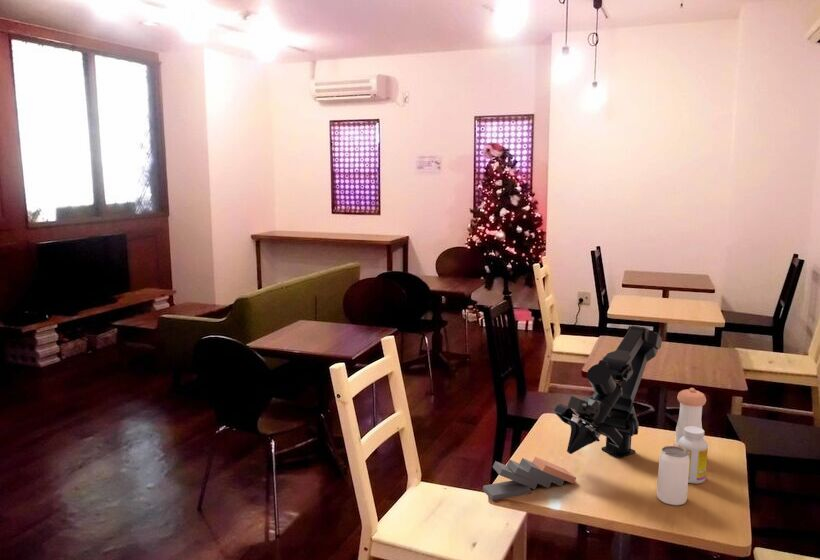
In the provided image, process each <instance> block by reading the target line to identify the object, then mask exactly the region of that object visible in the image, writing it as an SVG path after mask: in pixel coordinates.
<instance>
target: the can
mask: <svg viewBox="0 0 820 560" xmlns="http://www.w3.org/2000/svg"><path fill="white" fill-rule="evenodd" d="M658 460H659V461H658V474H657V488H656V489H657V490H656V497H657V499H658V500H659V501H660V502H662V503H663V504H666V505H669V506H674V507H675V506H677V507H678V506H682V505H684V504H686V502H687V499H688V490H689V489H688V486H689V483H688V476H689V462H690V460H689V457H688V452H687V451H686V450H685V449H683V448H680V447H675V446H673V445H666V446H664V447H662V448H661V452H660V453H659V459H658Z"/></svg>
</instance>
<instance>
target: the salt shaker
mask: <svg viewBox="0 0 820 560" xmlns="http://www.w3.org/2000/svg"><path fill="white" fill-rule="evenodd" d="M677 401H678V402H679V413H678V420H677V423H676V427H675V434H674V435H675V436H674V441H673V444H672V446H675V447H678V444H679V439H680V438H681V437H683V436H684V433H683V432H684V428H685V427H687V426H694V427H699V428H701V429H703V425H702V414H703V406H705V404H706V402H707V398H706V395H705V394H704V393H703V392H701V391H699V390H696V389H695V388H694V387H690V388H688V389H682V390H680V391H679V392H678V394H677Z"/></svg>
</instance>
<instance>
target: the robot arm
mask: <svg viewBox="0 0 820 560" xmlns="http://www.w3.org/2000/svg"><path fill="white" fill-rule="evenodd" d="M626 331H627V332H626V334H625V336H624V337H623V338H622V340H621V341H620V344H619V345H618V346H617V347H616V349H615V350H613V351H610V352H608V353H606V354H605V356H604V357H603V358H602V359H600V360H599V361H598V363H596V364H594V365H592V366H591V367H590V368H589V369H588V370H587V373H586V378H587V379H588V381H589V383H590V385H591V387H592V390H593V393H592V395H591V396H589V395H587V396H586V397H585V398H584V399H582V398H580V397H578V396H575V395H570V397H569V401H568V402H567V406H566V405H564V404H562V403H560V404H557V405H556V406H555V407H554V409H553V411H552V412H553V413H554V414H555V415H556V417H558V418H559V419H560V420H561V421H562V422H563V423H564V424H566V425H569V426H570V435H569V441H568V444H567V449H566V452H567V453H568V454H570V455H573V454H574V453H575V452H577V451H579V450H581V449H583V448H585V447H586V446H589V445H590V444H592V443H595V442H598V443H599V442H600V441H601V440H600V437H601V436H604V437H605V446H602V447H601V450H602V451H604V452H606V453H608V454H610V455H612V456H615V457H617V458H620V459H621V458H624V457H627V456H630V455H633V454H635V453H636V450H635V449H633V448H632V437H633V436H636V435H638V434H639V428H640V427H639V425H640V423H639V421H638V418H637V415H636V411H635V407H634V400H635V398H636V394H637V391H638V390H639V389H638V388H639V386H640V383H641V380H642V378H643V375H644V372H645V369H646V366H647V364H648V362H649V361H651V360H652V359H654V358H655V357H656V356H657V354H658V351H659V350H660V349H661V347H662V343H663V342H662V341H663V339H662V336H660V334H659V333H658V332H655V331H652V330H650V329H649V328H647V327H645V326H639V325H629V326H628V327H627V330H626ZM618 382H620V384H619V383H618ZM573 410H574V411H573Z"/></svg>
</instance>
